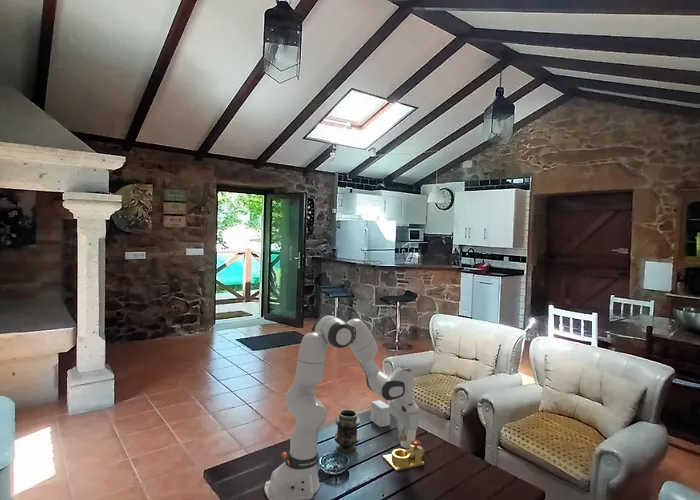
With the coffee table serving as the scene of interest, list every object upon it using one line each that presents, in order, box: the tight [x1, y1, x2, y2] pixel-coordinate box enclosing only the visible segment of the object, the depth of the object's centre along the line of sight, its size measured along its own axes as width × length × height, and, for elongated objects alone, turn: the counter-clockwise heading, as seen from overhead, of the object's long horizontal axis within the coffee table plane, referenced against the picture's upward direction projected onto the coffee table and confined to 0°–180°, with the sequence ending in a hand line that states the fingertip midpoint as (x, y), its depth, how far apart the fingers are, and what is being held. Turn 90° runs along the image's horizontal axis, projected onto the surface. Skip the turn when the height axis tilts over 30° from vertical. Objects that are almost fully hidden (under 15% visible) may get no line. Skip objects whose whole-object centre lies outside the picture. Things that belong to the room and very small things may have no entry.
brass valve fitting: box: [382, 439, 425, 472], centre depth 204 cm, size 18×12×8 cm
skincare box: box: [369, 399, 391, 428], centre depth 242 cm, size 10×6×10 cm, turn 30°
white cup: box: [400, 430, 417, 449], centre depth 218 cm, size 8×8×10 cm
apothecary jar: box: [333, 409, 361, 455], centre depth 212 cm, size 12×12×18 cm
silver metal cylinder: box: [397, 418, 407, 442], centre depth 202 cm, size 4×4×10 cm
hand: (402, 431), depth 202 cm, fingers closed on silver metal cylinder, 4 cm apart
